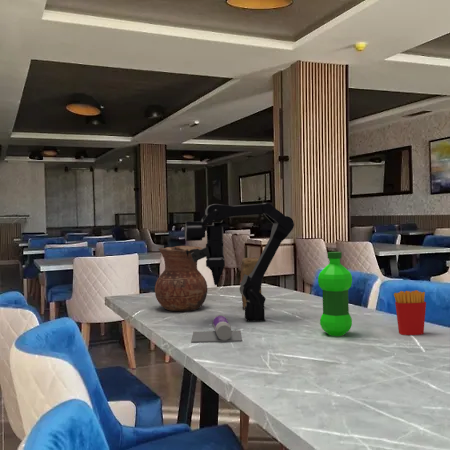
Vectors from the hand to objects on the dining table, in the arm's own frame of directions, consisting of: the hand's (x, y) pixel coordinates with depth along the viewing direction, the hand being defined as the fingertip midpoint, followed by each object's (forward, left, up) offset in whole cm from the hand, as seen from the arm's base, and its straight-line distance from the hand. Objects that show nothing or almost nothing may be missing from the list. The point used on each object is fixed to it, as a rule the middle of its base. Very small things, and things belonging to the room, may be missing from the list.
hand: (216, 284), depth 183 cm
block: (-14, -26, -13) cm, 32 cm away
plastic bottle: (-37, +23, -13) cm, 45 cm away
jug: (+14, -29, -13) cm, 35 cm away
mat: (0, +22, -13) cm, 26 cm away
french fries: (-59, +25, -13) cm, 65 cm away
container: (-1, +14, -10) cm, 18 cm away
